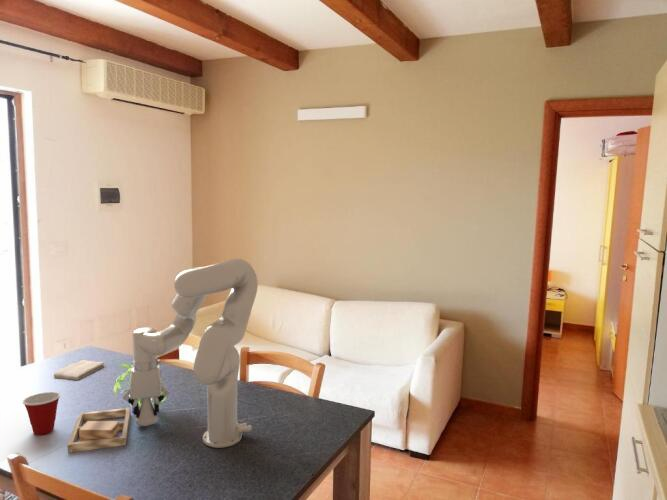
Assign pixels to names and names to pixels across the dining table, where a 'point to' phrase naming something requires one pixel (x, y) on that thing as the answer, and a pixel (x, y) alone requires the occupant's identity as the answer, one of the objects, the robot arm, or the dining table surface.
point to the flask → (146, 413)
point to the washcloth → (78, 370)
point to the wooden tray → (99, 443)
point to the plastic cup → (42, 411)
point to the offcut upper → (99, 430)
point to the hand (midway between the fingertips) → (146, 414)
